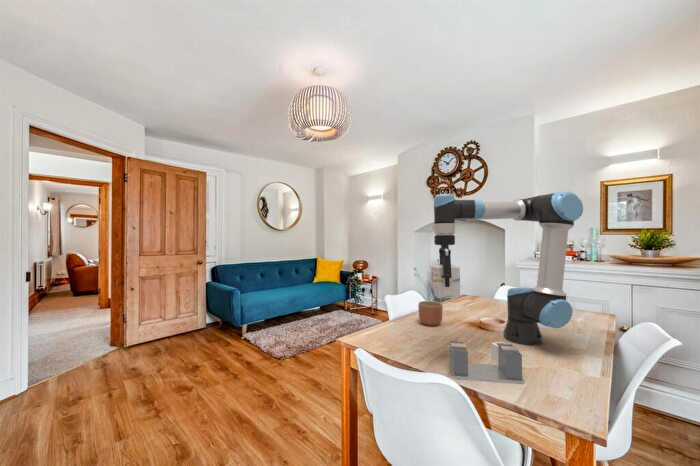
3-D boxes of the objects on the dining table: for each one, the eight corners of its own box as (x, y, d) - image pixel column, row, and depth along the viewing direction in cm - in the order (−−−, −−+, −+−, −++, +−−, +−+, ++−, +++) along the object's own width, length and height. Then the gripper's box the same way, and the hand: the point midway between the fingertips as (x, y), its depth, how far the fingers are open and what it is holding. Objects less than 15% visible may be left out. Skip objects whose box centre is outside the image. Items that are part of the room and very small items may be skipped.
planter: (445, 327, 149) (445, 306, 149) (421, 327, 149) (421, 306, 149) (438, 320, 161) (438, 300, 161) (416, 320, 161) (416, 300, 161)
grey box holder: (511, 368, 104) (511, 342, 104) (523, 383, 93) (523, 355, 93) (449, 363, 108) (449, 338, 108) (454, 378, 97) (454, 350, 97)
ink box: (430, 293, 116) (430, 264, 116) (451, 293, 117) (450, 263, 117) (438, 298, 108) (438, 266, 108) (460, 297, 108) (460, 266, 108)
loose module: (502, 357, 113) (502, 340, 113) (515, 365, 107) (515, 347, 107) (491, 358, 113) (490, 341, 113) (503, 366, 106) (503, 348, 106)
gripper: (432, 234, 124) (433, 287, 124) (436, 235, 102) (437, 298, 102) (450, 234, 123) (451, 287, 123) (459, 234, 101) (460, 299, 101)
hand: (445, 292), depth 112 cm, fingers closed on ink box, 10 cm apart
